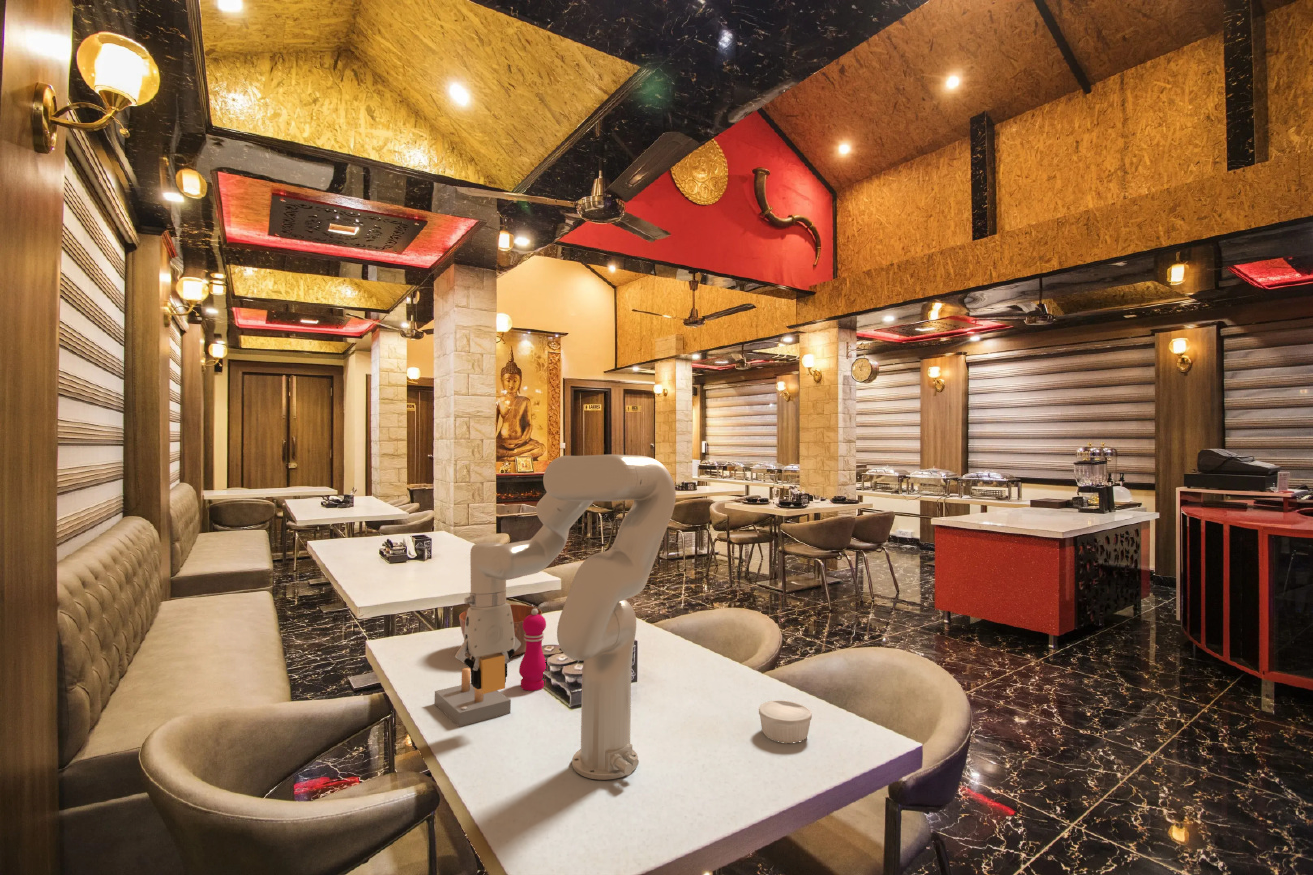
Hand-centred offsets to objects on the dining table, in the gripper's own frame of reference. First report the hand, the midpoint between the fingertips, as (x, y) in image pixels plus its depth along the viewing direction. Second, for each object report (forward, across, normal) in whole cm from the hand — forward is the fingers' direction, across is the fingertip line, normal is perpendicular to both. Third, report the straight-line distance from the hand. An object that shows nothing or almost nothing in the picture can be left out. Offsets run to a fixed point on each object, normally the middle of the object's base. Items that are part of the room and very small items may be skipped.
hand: (489, 683), depth 129 cm
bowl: (+8, +25, +50) cm, 57 cm away
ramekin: (+13, +49, -40) cm, 65 cm away
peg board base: (+9, +1, +14) cm, 16 cm away
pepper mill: (+10, +19, +18) cm, 28 cm away
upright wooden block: (+1, 0, 0) cm, 1 cm away
